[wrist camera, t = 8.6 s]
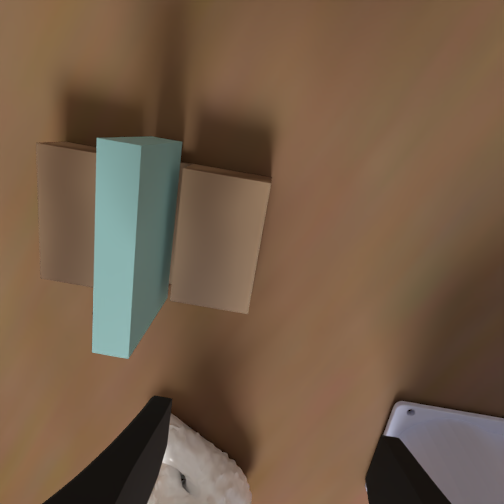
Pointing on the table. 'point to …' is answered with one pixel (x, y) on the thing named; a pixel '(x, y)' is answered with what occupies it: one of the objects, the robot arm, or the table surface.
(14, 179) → the table surface
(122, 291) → the teal rectangular block
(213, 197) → the slot block
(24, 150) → the table surface
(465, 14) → the table surface
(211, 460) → the sitting furry creature
